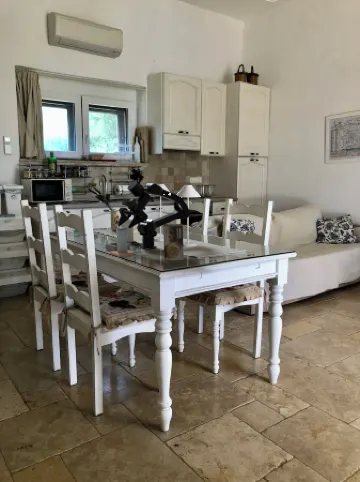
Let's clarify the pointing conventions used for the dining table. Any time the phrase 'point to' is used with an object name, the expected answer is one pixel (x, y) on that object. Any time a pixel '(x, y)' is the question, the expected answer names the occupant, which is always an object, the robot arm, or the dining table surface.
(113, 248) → the dock
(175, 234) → the coffee box
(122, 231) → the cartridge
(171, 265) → the dining table surface
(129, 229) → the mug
